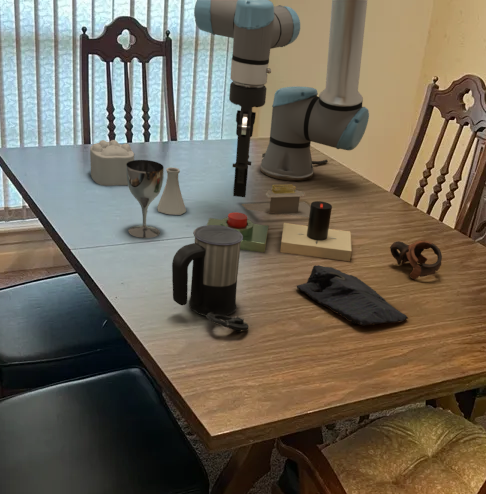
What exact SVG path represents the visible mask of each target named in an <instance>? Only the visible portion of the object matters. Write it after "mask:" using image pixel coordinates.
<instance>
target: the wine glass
mask: <svg viewBox="0 0 486 494" xmlns="http://www.w3.org/2000/svg"><path fill="white" fill-rule="evenodd" d="M164 171H165V169H164V165H163V164H161V163H159V162H157V161H154V160H148V159H134V161H130V162H128V163H127V164H126V174H127V183H128V185H127V187H128V190H129V192H130V194H131V195H132V196H133V197H134V199H135V200H136V201H138V203H139V205H140V208H141V214H142V225H134V226H131V227H129V229H128V233H129V234H130V235H131V236H133V237H136V238H139V239H140V238H142V239H150V238H155V237H159V236H160V234H161V231H160V229H158V228H156V227H154V226H150V225H147V216H148V215H147V214H148V209H149V207H150V204H151V203H152V202H153V201H154V200H155V199H156V198H157V197H158V196H159V195H160V193H161V190H162V187H163V182H164Z"/></svg>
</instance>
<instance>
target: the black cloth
mask: <svg viewBox="0 0 486 494" xmlns="http://www.w3.org/2000/svg"><path fill="white" fill-rule="evenodd" d="M296 289H297V290H299V291H300V292H301V293H304V294H306V295H307V296H308V297H309V298H310V299H312V300H313V301H314V302H317V303H318V304H320V306H323V307H327V308H328V309H330V310H331V312H333V313H335V314H336V315H339V316H341V317H342V318H344V319H346V320H347V321H349V322H351V324H357V325H360V326H369V325H379V324H380V325H381V324H393V323H402V322H403V321H405V320H408V319H409V317H408V315H406V314H405V313H403V312H402V311H400V310H399V309H396V308H395V307H394V306H393V305H391V303H389V302H388V301H387V300H386V299H385V298H384V297H383V296H381V295H380V294H379V293H378V292H377V291H376V290H375V289H373V288H372V287H370V286H369V285H368V284H366V283H365V282H364V281H363V280H361V279H360V278H358V276H355V275H352V274H348V273H345V272H342V271H341V270H339V269H337V268H334V267H332V266H323V265H319V264H318V265H317V264H316V265H313V267H312V269H311V273H310V275H309V277H308V278H307V281H306V282H305V283H301V284H298V285H296Z"/></svg>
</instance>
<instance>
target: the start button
mask: <svg viewBox="0 0 486 494" xmlns="http://www.w3.org/2000/svg"><path fill="white" fill-rule="evenodd" d="M227 214H228V215H227V217H228V225H230V226H233V227H245V226H247V220H248V215H246V214H245V213H243V212H236V211H235V212H230V213H227Z"/></svg>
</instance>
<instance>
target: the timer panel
mask: <svg viewBox="0 0 486 494" xmlns="http://www.w3.org/2000/svg"><path fill="white" fill-rule="evenodd" d="M307 229H308V225H305V224H304V225H303V224H297V223H288V222H283V226H282V235H281V242H280V248H279V249H280V251H279V252H280V253H284V254H291V255H299V256H306V257H315V258H321V259H328V260H329V259H330V260H336V261H344V262H351V257H352V249H353V248H352V235H351V234H352V233H351V231H350V230H341V229H334V228H329V229H328V236H327V239H325V240H313V239H311V238H309V237H307Z"/></svg>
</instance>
